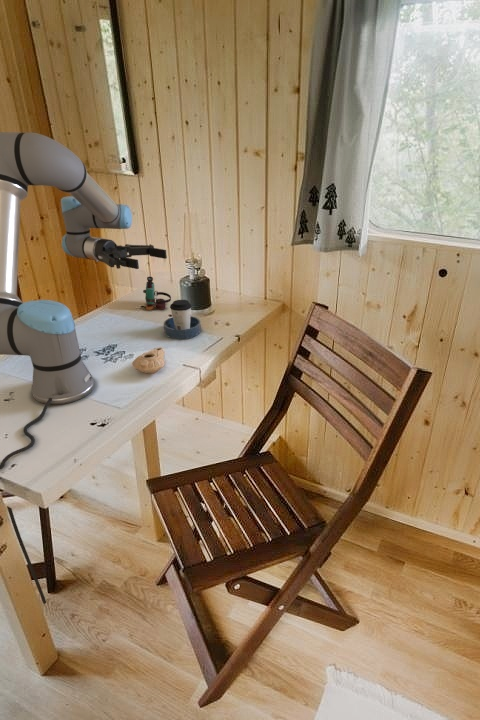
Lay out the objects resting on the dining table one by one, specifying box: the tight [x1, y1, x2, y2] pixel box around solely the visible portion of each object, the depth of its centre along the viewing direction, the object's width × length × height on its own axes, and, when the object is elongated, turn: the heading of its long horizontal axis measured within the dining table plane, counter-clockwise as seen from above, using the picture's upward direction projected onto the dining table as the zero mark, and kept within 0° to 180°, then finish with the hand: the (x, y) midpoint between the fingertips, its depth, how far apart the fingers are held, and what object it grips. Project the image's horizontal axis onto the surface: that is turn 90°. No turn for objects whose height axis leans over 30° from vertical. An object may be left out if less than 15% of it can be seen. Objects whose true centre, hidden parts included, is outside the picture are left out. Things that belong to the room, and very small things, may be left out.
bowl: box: [163, 315, 202, 340], centre depth 156 cm, size 12×12×4 cm
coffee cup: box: [169, 299, 192, 330], centre depth 154 cm, size 7×7×10 cm
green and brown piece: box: [142, 276, 172, 311], centre depth 174 cm, size 9×11×10 cm
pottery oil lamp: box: [131, 346, 166, 375], centre depth 134 cm, size 9×12×7 cm
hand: (152, 259), depth 149 cm, fingers open, 13 cm apart
